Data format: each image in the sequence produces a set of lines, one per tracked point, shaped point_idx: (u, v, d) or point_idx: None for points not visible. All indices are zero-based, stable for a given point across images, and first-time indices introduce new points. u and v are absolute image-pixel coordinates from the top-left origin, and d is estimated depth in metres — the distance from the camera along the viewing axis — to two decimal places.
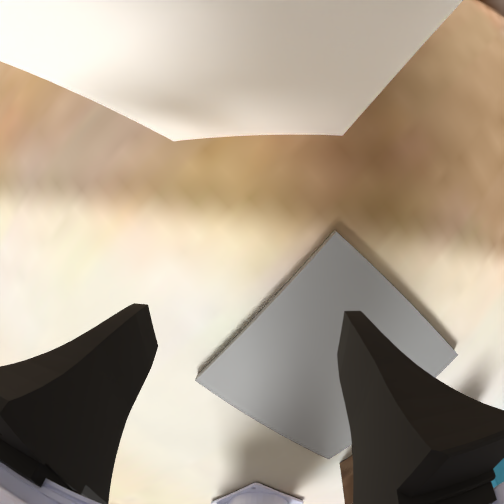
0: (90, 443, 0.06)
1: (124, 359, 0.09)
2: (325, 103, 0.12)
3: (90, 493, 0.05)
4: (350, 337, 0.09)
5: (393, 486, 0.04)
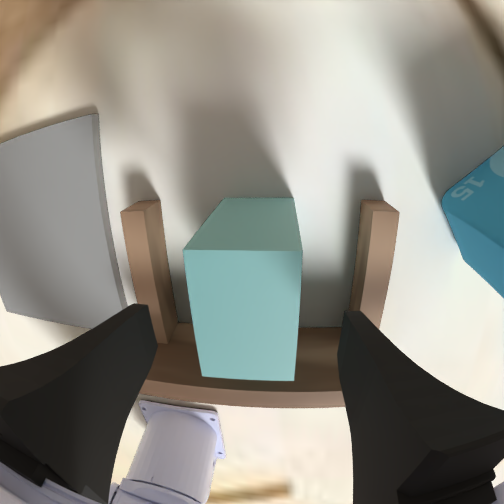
0: (90, 443, 0.06)
1: (124, 359, 0.09)
2: None
3: (90, 492, 0.05)
4: (350, 337, 0.09)
5: (393, 486, 0.04)
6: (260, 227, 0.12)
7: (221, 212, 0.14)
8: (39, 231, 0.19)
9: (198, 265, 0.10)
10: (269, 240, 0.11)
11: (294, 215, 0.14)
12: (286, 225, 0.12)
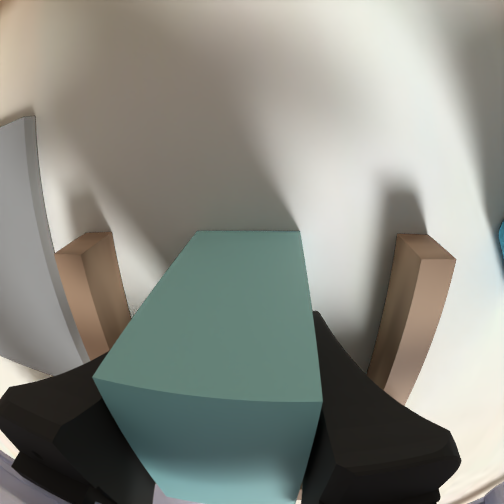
0: (137, 457, 0.06)
1: None
2: None
3: None
4: None
5: (318, 495, 0.04)
6: (241, 313, 0.07)
7: (184, 266, 0.09)
8: None
9: (124, 403, 0.05)
10: (256, 360, 0.05)
11: (303, 277, 0.08)
12: (290, 307, 0.07)
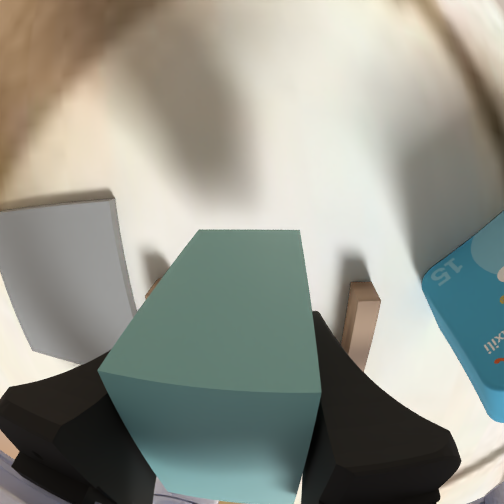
0: (137, 457, 0.06)
1: None
2: None
3: None
4: None
5: (318, 495, 0.04)
6: (243, 308, 0.07)
7: (186, 264, 0.09)
8: (65, 293, 0.22)
9: (128, 395, 0.05)
10: (257, 353, 0.05)
11: (303, 274, 0.08)
12: (290, 303, 0.07)
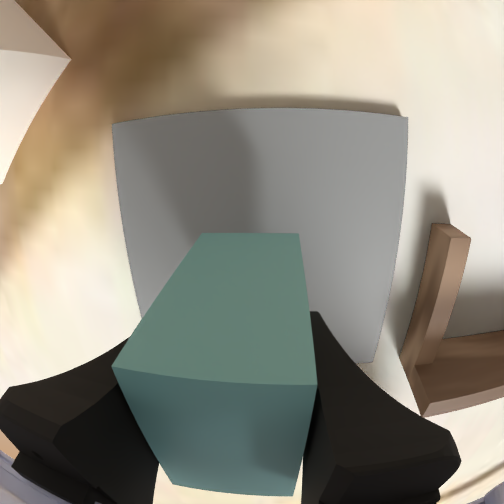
0: (137, 457, 0.06)
1: None
2: None
3: None
4: None
5: (318, 495, 0.04)
6: (245, 308, 0.07)
7: (191, 266, 0.10)
8: None
9: (140, 390, 0.05)
10: (258, 350, 0.06)
11: (301, 276, 0.09)
12: (289, 303, 0.07)
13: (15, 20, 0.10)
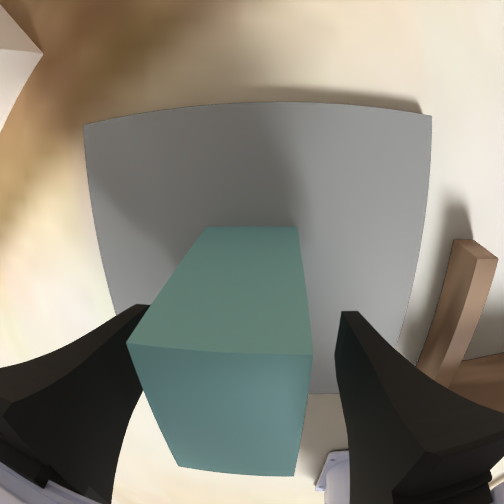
0: (93, 444, 0.06)
1: (127, 360, 0.09)
2: None
3: (93, 494, 0.05)
4: (347, 337, 0.09)
5: (388, 487, 0.04)
6: (248, 291, 0.08)
7: (197, 256, 0.10)
8: None
9: (151, 364, 0.06)
10: (260, 326, 0.07)
11: (299, 264, 0.10)
12: (288, 286, 0.08)
13: None
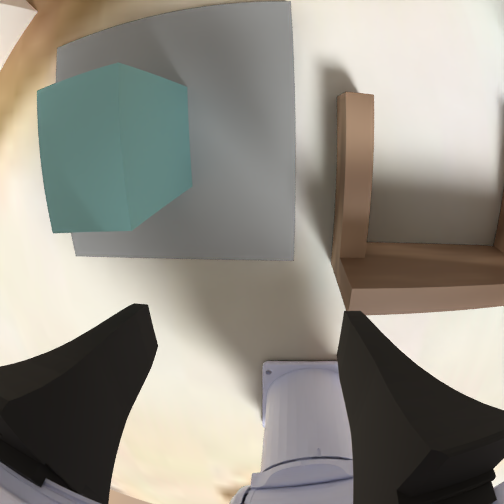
0: (90, 443, 0.06)
1: (124, 359, 0.09)
2: None
3: (90, 493, 0.05)
4: (350, 337, 0.09)
5: (393, 486, 0.04)
6: None
7: None
8: None
9: (45, 101, 0.08)
10: None
11: None
12: None
13: None
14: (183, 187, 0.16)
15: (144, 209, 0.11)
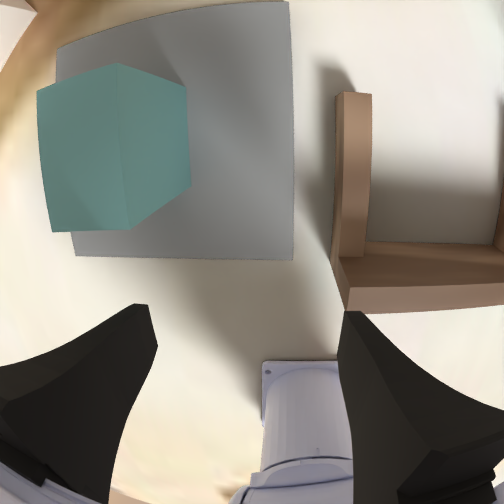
0: (90, 443, 0.06)
1: (124, 359, 0.09)
2: None
3: (90, 493, 0.05)
4: (350, 337, 0.09)
5: (393, 486, 0.04)
6: None
7: None
8: None
9: (44, 101, 0.08)
10: None
11: (159, 78, 0.12)
12: None
13: None
14: (181, 187, 0.16)
15: (142, 208, 0.11)
